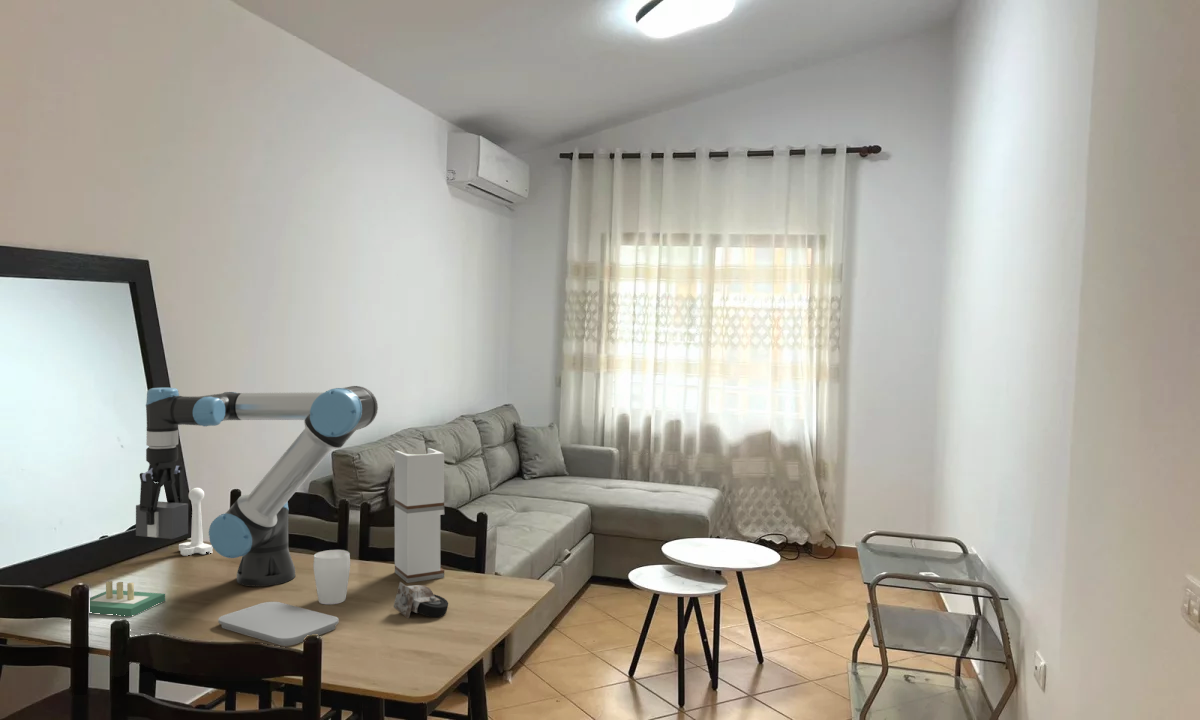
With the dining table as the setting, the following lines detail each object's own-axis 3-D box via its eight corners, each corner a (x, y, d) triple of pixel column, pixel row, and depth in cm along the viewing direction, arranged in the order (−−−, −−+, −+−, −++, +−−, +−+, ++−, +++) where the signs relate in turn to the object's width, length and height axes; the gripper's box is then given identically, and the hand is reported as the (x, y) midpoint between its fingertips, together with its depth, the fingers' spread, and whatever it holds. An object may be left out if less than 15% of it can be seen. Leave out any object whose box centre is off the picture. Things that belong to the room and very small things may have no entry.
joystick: (215, 552, 265) (215, 488, 264) (195, 558, 258) (194, 492, 258) (190, 548, 270) (190, 485, 269) (169, 553, 263) (168, 489, 262)
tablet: (287, 650, 187) (287, 640, 186) (212, 628, 200) (212, 618, 200) (344, 628, 200) (344, 618, 200) (271, 609, 214) (271, 600, 214)
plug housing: (188, 533, 228) (188, 503, 228) (172, 538, 222) (172, 508, 222) (152, 530, 230) (152, 500, 230) (135, 535, 225) (135, 505, 224)
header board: (165, 601, 218) (164, 577, 218) (131, 617, 206) (131, 591, 206) (109, 597, 221) (109, 574, 220) (73, 612, 209) (72, 587, 209)
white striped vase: (444, 577, 240) (444, 453, 239) (407, 582, 235) (407, 455, 234) (430, 567, 250) (430, 448, 249) (394, 572, 245) (394, 450, 244)
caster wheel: (450, 623, 211) (417, 627, 203) (423, 603, 218) (391, 607, 211) (457, 597, 210) (424, 601, 203) (430, 578, 218) (398, 581, 210)
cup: (339, 592, 226) (339, 547, 225) (357, 600, 219) (356, 554, 219) (307, 600, 219) (307, 554, 219) (323, 608, 213) (323, 561, 213)
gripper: (175, 441, 235) (174, 524, 236) (122, 450, 217) (122, 541, 218) (199, 442, 234) (198, 526, 235) (148, 452, 215) (148, 543, 216)
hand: (162, 533), depth 226 cm, fingers closed on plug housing, 6 cm apart
